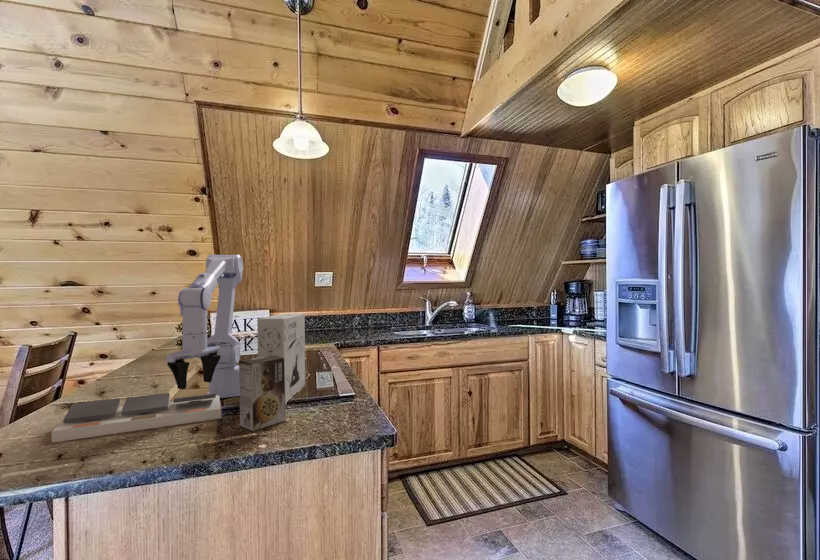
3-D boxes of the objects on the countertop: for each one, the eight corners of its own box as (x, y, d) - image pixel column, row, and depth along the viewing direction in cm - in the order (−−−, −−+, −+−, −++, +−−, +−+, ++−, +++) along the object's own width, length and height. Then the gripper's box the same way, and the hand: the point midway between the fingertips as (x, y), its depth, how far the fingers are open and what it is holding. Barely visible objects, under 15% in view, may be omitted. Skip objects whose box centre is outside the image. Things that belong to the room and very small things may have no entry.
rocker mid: (169, 396, 110) (169, 392, 110) (167, 409, 103) (167, 406, 103) (126, 401, 106) (126, 397, 105) (121, 415, 99) (121, 411, 98)
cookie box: (272, 416, 106) (271, 354, 107) (286, 421, 102) (285, 357, 103) (238, 425, 99) (238, 359, 100) (252, 431, 95) (252, 362, 96)
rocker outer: (120, 401, 105) (120, 398, 105) (114, 416, 98) (114, 412, 98) (73, 407, 101) (72, 403, 100) (63, 423, 94) (63, 419, 93)
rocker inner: (214, 397, 115) (214, 393, 115) (215, 397, 108) (215, 393, 108) (175, 401, 110) (175, 397, 111) (173, 402, 104) (173, 398, 104)
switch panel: (219, 403, 119) (218, 392, 119) (221, 418, 105) (221, 405, 105) (70, 422, 103) (70, 409, 103) (51, 442, 90) (51, 427, 90)
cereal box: (284, 407, 115) (283, 318, 115) (257, 407, 115) (257, 318, 115) (305, 387, 136) (304, 313, 137) (283, 388, 136) (282, 313, 137)
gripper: (207, 329, 115) (208, 378, 115) (157, 335, 102) (158, 390, 101) (226, 330, 112) (226, 380, 112) (177, 337, 99) (177, 393, 99)
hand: (195, 385), depth 106 cm, fingers open, 7 cm apart
